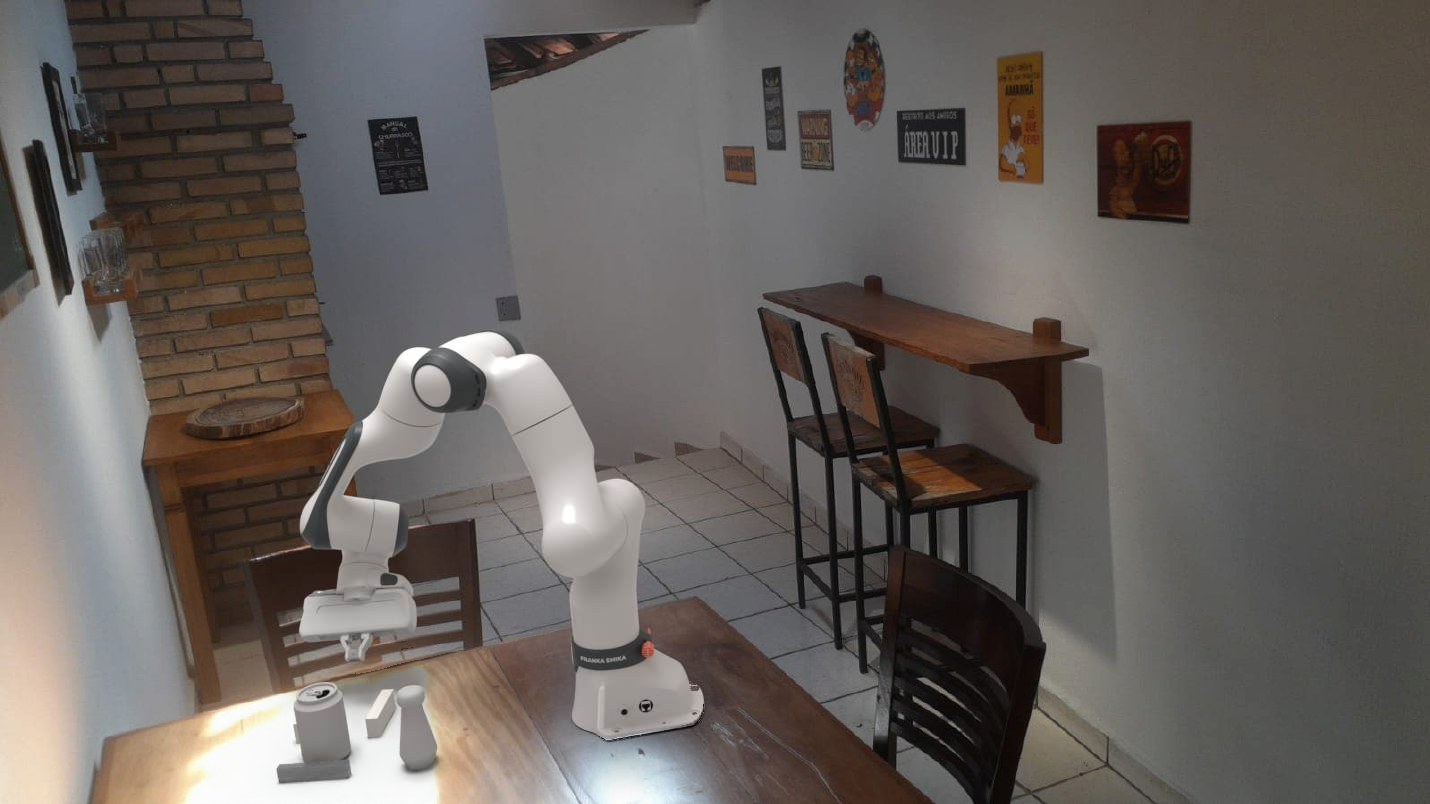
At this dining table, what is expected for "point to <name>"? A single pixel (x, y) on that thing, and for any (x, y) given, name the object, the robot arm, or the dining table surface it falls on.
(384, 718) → the chute
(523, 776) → the dining table surface
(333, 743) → the can
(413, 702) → the salt shaker
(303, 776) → the end bar
